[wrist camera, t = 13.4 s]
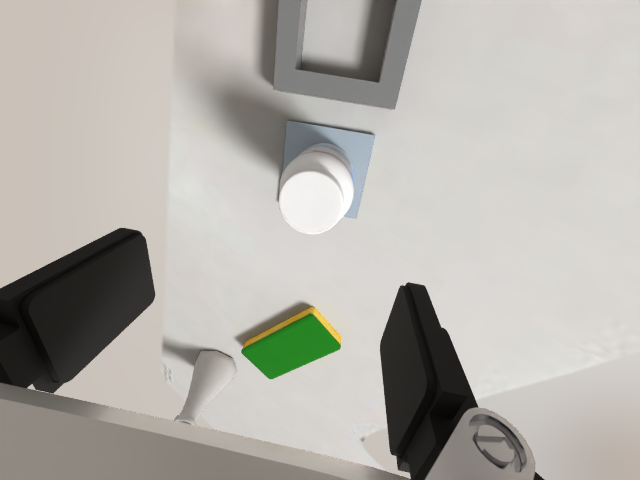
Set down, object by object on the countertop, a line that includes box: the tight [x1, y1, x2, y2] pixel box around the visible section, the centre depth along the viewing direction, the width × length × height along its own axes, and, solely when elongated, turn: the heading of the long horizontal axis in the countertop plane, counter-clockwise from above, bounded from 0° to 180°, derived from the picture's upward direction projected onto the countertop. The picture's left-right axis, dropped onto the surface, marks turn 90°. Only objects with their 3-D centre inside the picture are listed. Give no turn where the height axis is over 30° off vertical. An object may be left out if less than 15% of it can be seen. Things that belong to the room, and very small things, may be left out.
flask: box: [174, 351, 237, 426], centre depth 41 cm, size 7×7×10 cm
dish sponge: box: [241, 307, 341, 379], centre depth 40 cm, size 7×14×2 cm, turn 127°
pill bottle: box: [279, 143, 354, 234], centre depth 24 cm, size 6×6×11 cm
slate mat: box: [282, 120, 375, 219], centre depth 29 cm, size 9×9×1 cm
